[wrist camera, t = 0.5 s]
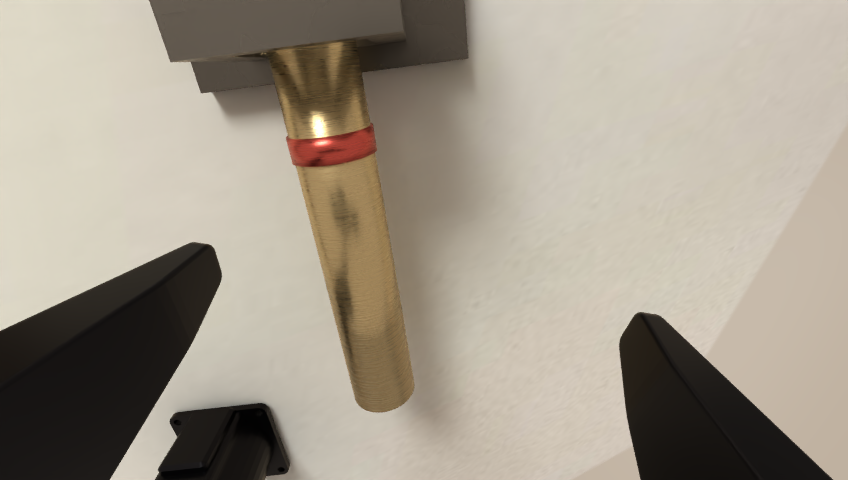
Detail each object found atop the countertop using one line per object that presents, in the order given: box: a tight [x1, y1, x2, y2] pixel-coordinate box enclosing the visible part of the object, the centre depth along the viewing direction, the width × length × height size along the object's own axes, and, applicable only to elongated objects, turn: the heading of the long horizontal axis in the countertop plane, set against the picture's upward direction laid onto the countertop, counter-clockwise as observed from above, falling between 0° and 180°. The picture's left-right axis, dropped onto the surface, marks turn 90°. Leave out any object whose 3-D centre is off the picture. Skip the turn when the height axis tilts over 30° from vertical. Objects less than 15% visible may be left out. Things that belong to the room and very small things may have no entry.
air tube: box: [267, 40, 414, 412], centre depth 18 cm, size 18×3×3 cm, turn 7°
